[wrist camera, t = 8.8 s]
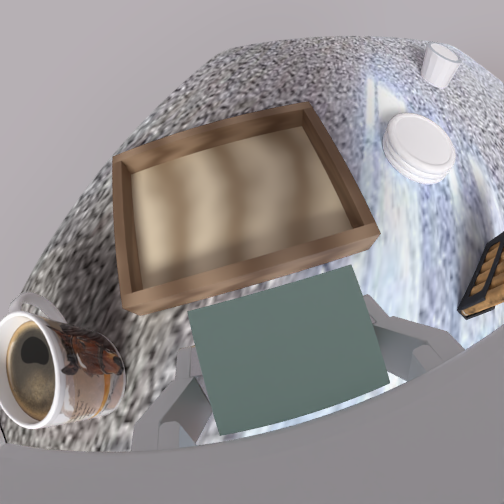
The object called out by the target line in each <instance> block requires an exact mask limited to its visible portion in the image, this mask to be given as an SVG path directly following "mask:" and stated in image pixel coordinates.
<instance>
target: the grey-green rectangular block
mask: <svg viewBox="0 0 504 504" xmlns="http://www.w3.org/2000/svg"><path fill="white" fill-rule="evenodd" d="M187 312H188V316H189V321H190V325H191V330H192V334H193V338H194V343H195V347H196V351H197V355H198V359H199V363H200V367H201V371H202V375H203V378H204V382H205V386H206V390H207V393H208V397H209V400H210V404H211V407H212V411H213V414H214V418H215V421H216V424H217V428H218V431H219V434H220V436H221V435H226V434H232V433H237V432H241V431H246V430H251V429H255V428H259V427H263V426H267V425H271V424H275V423H279V422H283V421H286V420H290V419H293V418H297V417H300V416H304V415H307V414H310V413H313V412H316V411H319V410H322V409H325V408H328V407H331V406H334V405H337V404H340V403H342V402H345V401H348V400H350V399H353V398H356V397H358V396H361V395H363V394H366V393H368V392H371V391H373V390H375V389H378V388H380V387H382V386H385V385H387V384H389V383H390V381H389V377H388V374H387V370H386V367H385V363H384V360H383V356H382V353H381V350H380V346H379V343H378V340H377V337H376V334H375V331H374V328H373V324H372V321H371V318H370V315H369V312H368V310H367V307H366V304H365V301H364V298H363V295H362V292H361V290H360V287H359V284H358V281H357V279H356V276H355V273H354V271H353V268H352V265H348V266H345V267H342V268H338V269H335V270H332V271H329V272H326V273H322V274H319V275H316V276H313V277H309V278H306V279H303V280H299V281H296V282H292V283H289V284H286V285H282V286H279V287H275V288H272V289H268V290H265V291H261V292H258V293H254V294H251V295H247V296H244V297H240V298H236V299H233V300H229V301H225V302H222V303H218V304H214V305H210V306H206V307H203V308H199V309H195V310H191V311H187Z"/></svg>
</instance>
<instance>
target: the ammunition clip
mask: <svg viewBox="0 0 504 504" xmlns="http://www.w3.org/2000/svg"><path fill="white" fill-rule="evenodd" d="M503 302H504V232H502V233H501V234H499V235H498V236H497V237H495V238H494V239H492V240H491V241H490V242H488V243H487V244H486V247H485V249H484V252H483V254H482V257H481V259H480V262H479V264H478V266H477V269H476V271H475V273H474V276H473V278H472V280H471V282H470V285H469V287H468V289H467V291H466V293H465V295H464V297H463V299H462V301H461V303H460V305H459V307H458V309H457V311H458V312H459V313H460V314H461V315H462V316H463V317H464V318H465V319H466V320H468V319H470V318H473V317H476V316H478V315H481V314H483V313H486V312H488V311H491V310H493V309H494V308H495V305H498V304H500V303H503Z"/></svg>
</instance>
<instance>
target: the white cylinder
mask: <svg viewBox="0 0 504 504" xmlns="http://www.w3.org/2000/svg"><path fill="white" fill-rule="evenodd" d="M460 64H461V59H460V57H459V56H458V55H457V54H456V53H455V52H454V51H452V50H451V49H449V48H448V47H446V46H444V45H442V44H439V43H436V42H428V43H427V47H426V52H425V56H424V61H423V65H422V69H421V76H422V77H423V78H424V80H426V81H427V82H428V83H430V84H431V85H433V86H435V87H438V88H443V89H444V88H446V87H447V86H448V84H449V82H450V81H451V79H452V77H453V76H454V74H455V72H456V70H457V69H458V67H459V65H460Z"/></svg>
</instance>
